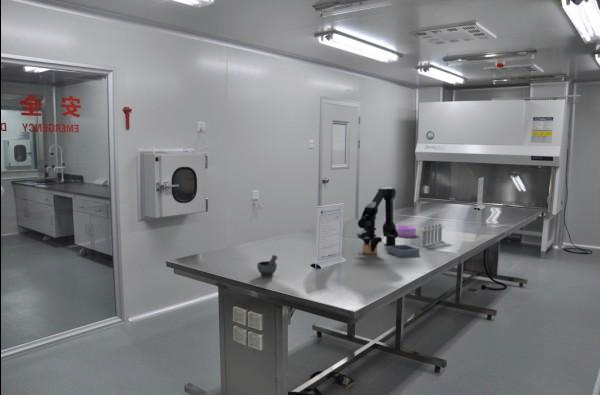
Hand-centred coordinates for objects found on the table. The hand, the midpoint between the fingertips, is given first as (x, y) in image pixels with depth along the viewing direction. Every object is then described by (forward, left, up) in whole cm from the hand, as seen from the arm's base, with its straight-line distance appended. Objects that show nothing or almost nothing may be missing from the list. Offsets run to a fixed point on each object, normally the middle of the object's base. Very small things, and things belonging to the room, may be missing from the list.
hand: (369, 250), depth 291 cm
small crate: (0, 0, -1) cm, 1 cm away
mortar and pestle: (+29, -77, -2) cm, 82 cm away
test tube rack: (-8, +54, -2) cm, 55 cm away
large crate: (+10, +18, -1) cm, 21 cm away
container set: (-45, +52, -2) cm, 69 cm away
